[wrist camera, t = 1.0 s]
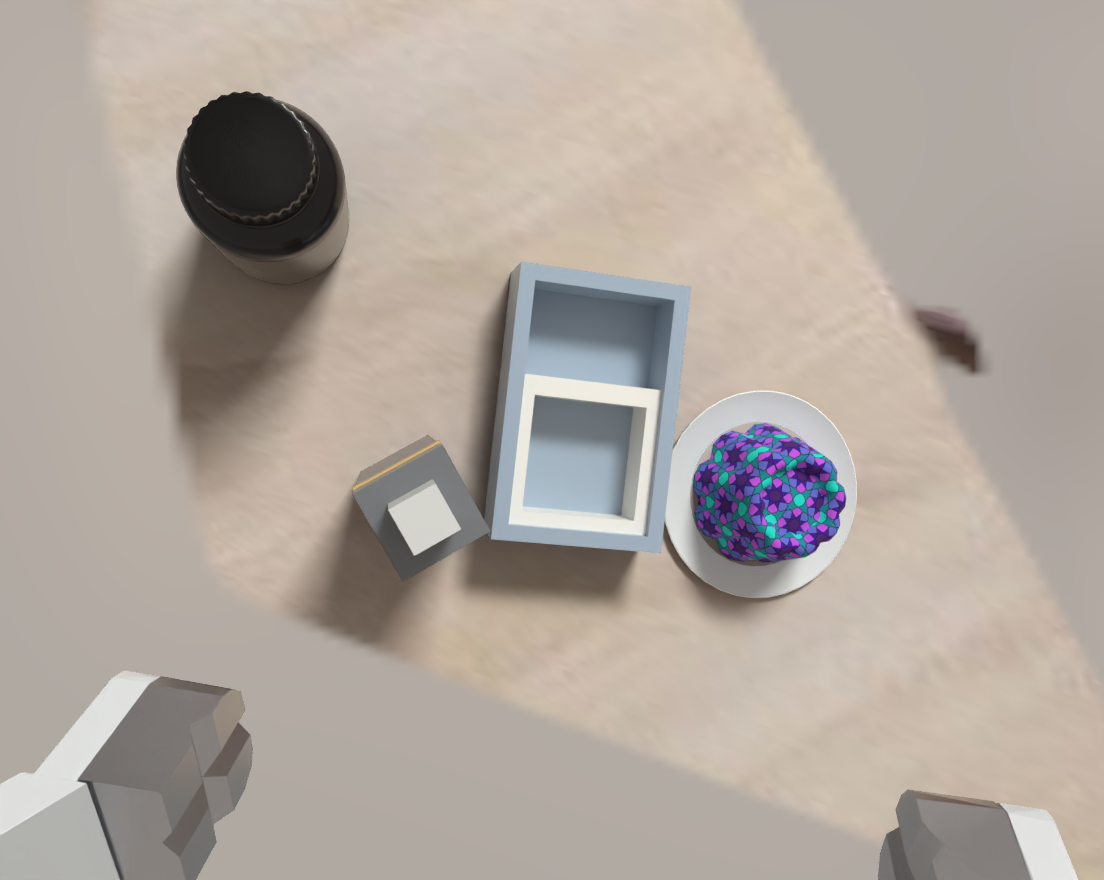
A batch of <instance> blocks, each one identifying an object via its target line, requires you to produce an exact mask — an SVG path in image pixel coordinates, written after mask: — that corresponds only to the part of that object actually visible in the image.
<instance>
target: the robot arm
mask: <svg viewBox="0 0 1104 880" xmlns="http://www.w3.org/2000/svg"><path fill="white" fill-rule="evenodd" d="M244 711H245V706H244V702H243V699H242V694H241V691H237V690H234V689H229V688H223V687H218V686H212V685H207V684H201V683H195V682H190V681H184V680H179V679H173V678H168V677H162V676H155V675H148V674H143V673H137V672H131V671H123V672H121V673H120V674H118V675H116V676H114V677H113V678H112V679H110V681H109V682H108V683H107V684H106V685H105V687H104V688H103V689H102V690H101V692H100V693H99V694H98V695H97V696H96V698H95V699H94V700H93V701H92V702H91V704H90V705H89V706H88V707H87V709H86V710H85V711H84V712H83V714H82V715H81V716H80V717H79V718H78V720H77V721H76V722H75V723H74V724H73V726H72V727H71V728H70V730H69V731H68V732H67V733H66V734H65V736H64V737H63V738H62V739H61V740H60V742H59V743H58V744H57V745H56V747H55V748H54V749H53V750H52V752H51V753H50V754H49V755H48V756H47V758H46V759H45V760H44V761H43V762H42V764H41V765H40V766H39V767H38V769H37V770H36V771H35V772H34V773H33V774H32V773H24V772H21V773H20V774H18V775H16V776H14V777H12V778H10V779H9V780H7V781H5V782H3V783H1V784H0V880H196V879H197V877H198V875H199V873H200V871H201V870H202V868H203V866H204V864H205V862H206V860H207V859H208V857H209V855H210V853H211V851H212V849H213V848H214V846H215V844H216V836H215V831H214V825H213V824H214V823H216V822H217V821H219V820H220V819H222V818H223V817H225V816H226V815H228V814H229V813H231V812H232V811H233V810H234V809H235V807H236V805H237V803H238V801H239V799H240V797H241V796H242V794H243V792H244V789H245V786H246V783H247V780H248V777H249V773H250V770H251V766H252V750H253V749H252V742H251V736H250V734H249V733H248V732H247V731H246V730H245V729H244V728H243V727H242V726H241V725H240V724H239V723H238V722H239V720H240V718H241V717H242V715H243V713H244ZM896 814H897V819H898V823H899V827H898V828H897V829H895V830H893V831H891V832H889V833H888V834H886V837H885V840H884V843H883V846H882V849H881V852H880V861H879V873H878V880H1079V879H1078V876H1077V874H1076V872H1075V869H1074V867H1073V864H1072V862H1071V860H1070V857H1069V855H1068V852H1067V850H1066V848H1065V845H1064V843H1063V840H1062V838H1061V836H1060V833H1059V831H1058V828H1057V826H1056V824H1055V821H1054V819H1053V818H1052V817H1051V816H1050V814H1049V813H1048V812H1047V811H1046V810H1042V809H1036V808H1029V807H1022V806H1016V805H1009V804H1002V803H995V802H993V801H987V800H980V799H973V798H965V797H958V796H951V795H943V794H936V793H929V792H922V791H914V790H907V791H906V792H905V793H903V794H902V795H901V797H900V800H899V802H898V805H897V807H896Z"/></svg>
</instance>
